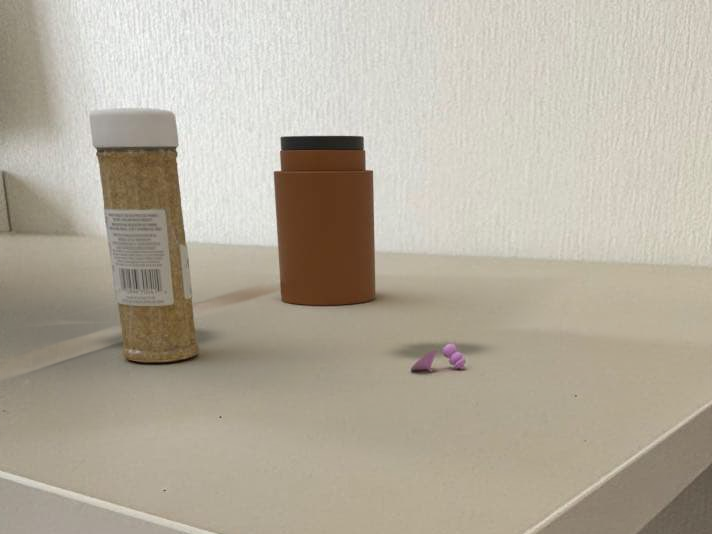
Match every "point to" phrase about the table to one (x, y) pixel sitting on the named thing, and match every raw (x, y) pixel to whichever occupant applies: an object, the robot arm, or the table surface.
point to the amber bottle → (325, 221)
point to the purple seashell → (448, 352)
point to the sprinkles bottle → (146, 232)
